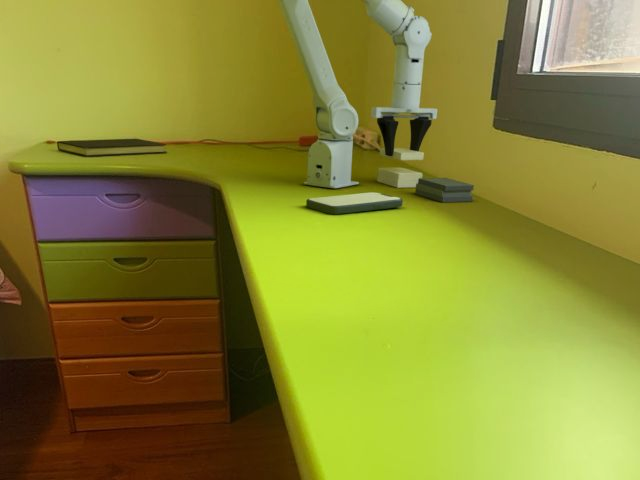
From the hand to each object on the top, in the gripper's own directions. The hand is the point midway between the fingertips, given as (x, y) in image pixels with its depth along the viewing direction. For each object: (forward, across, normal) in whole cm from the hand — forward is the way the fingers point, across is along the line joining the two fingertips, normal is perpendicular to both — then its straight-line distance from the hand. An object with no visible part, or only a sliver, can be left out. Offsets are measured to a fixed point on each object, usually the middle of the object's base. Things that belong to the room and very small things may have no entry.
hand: (401, 155), depth 147 cm
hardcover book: (+6, -50, +66) cm, 83 cm away
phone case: (+6, -23, -24) cm, 34 cm away
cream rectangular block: (+6, 0, 0) cm, 6 cm away
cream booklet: (0, 0, 0) cm, 0 cm away
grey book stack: (+6, 0, -18) cm, 18 cm away
